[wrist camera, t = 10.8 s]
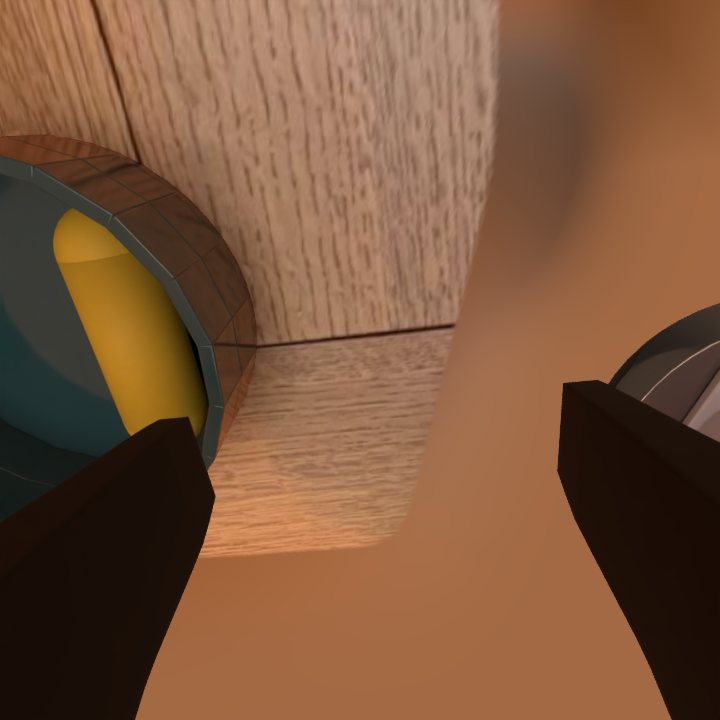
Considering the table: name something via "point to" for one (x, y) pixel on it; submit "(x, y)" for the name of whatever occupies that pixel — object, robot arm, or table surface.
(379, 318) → the table surface
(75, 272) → the banana
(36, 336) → the bowl
